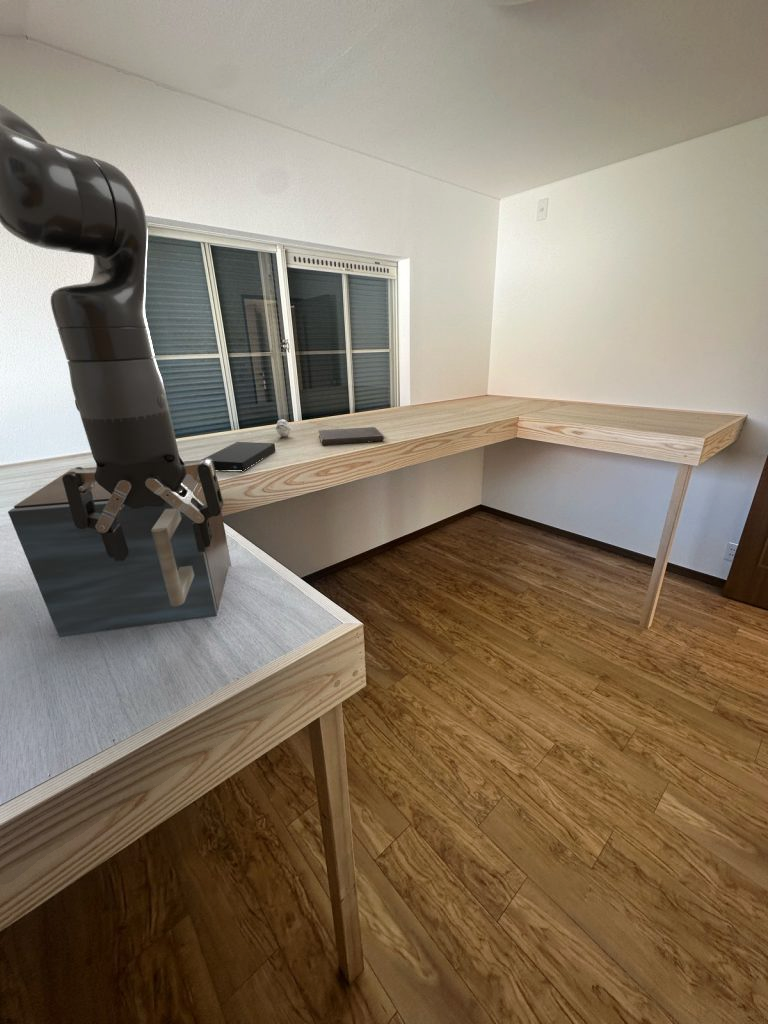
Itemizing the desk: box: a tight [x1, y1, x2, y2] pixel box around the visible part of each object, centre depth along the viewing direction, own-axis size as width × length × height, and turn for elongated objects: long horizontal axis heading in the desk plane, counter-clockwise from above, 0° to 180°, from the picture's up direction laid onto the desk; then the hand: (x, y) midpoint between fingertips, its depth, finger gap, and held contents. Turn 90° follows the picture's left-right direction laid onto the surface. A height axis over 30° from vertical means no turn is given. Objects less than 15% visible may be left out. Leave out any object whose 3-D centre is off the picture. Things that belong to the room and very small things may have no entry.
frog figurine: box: [275, 418, 292, 438], centre depth 164 cm, size 6×7×7 cm
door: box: [7, 501, 219, 638], centre depth 51 cm, size 8×20×20 cm, turn 102°
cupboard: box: [13, 459, 232, 611], centre depth 62 cm, size 15×20×20 cm
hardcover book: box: [317, 426, 385, 446], centre depth 160 cm, size 16×23×2 cm
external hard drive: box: [201, 441, 276, 472], centre depth 135 cm, size 14×23×3 cm, turn 170°
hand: (163, 553), depth 47 cm, fingers open, 8 cm apart
